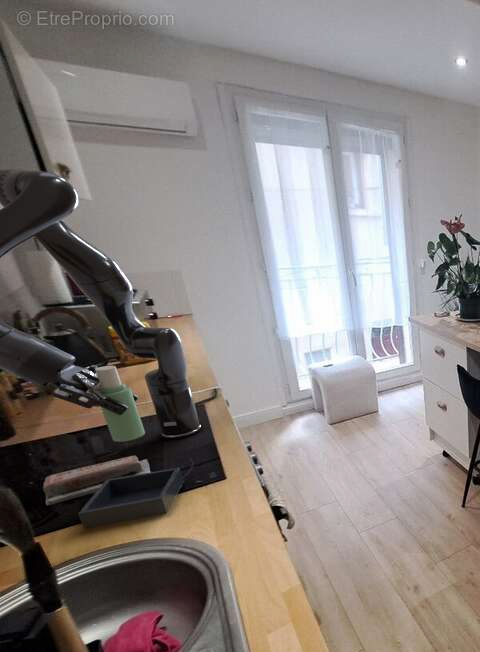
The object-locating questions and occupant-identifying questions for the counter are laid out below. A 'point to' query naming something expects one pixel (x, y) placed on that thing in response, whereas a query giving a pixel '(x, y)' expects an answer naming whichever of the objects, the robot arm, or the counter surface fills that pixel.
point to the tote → (132, 498)
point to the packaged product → (90, 478)
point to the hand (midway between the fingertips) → (130, 405)
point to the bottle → (111, 386)
